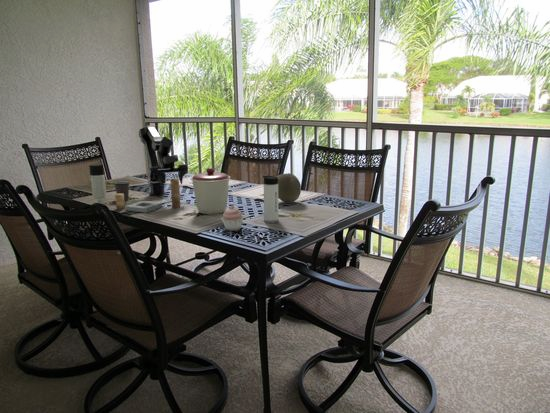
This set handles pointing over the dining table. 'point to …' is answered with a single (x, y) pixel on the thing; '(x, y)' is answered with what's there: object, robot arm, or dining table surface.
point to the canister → (211, 191)
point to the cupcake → (232, 218)
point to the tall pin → (175, 193)
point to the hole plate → (143, 206)
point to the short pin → (120, 201)
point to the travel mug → (270, 199)
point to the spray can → (98, 183)
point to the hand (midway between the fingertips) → (172, 184)
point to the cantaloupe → (288, 187)
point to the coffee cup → (122, 188)
